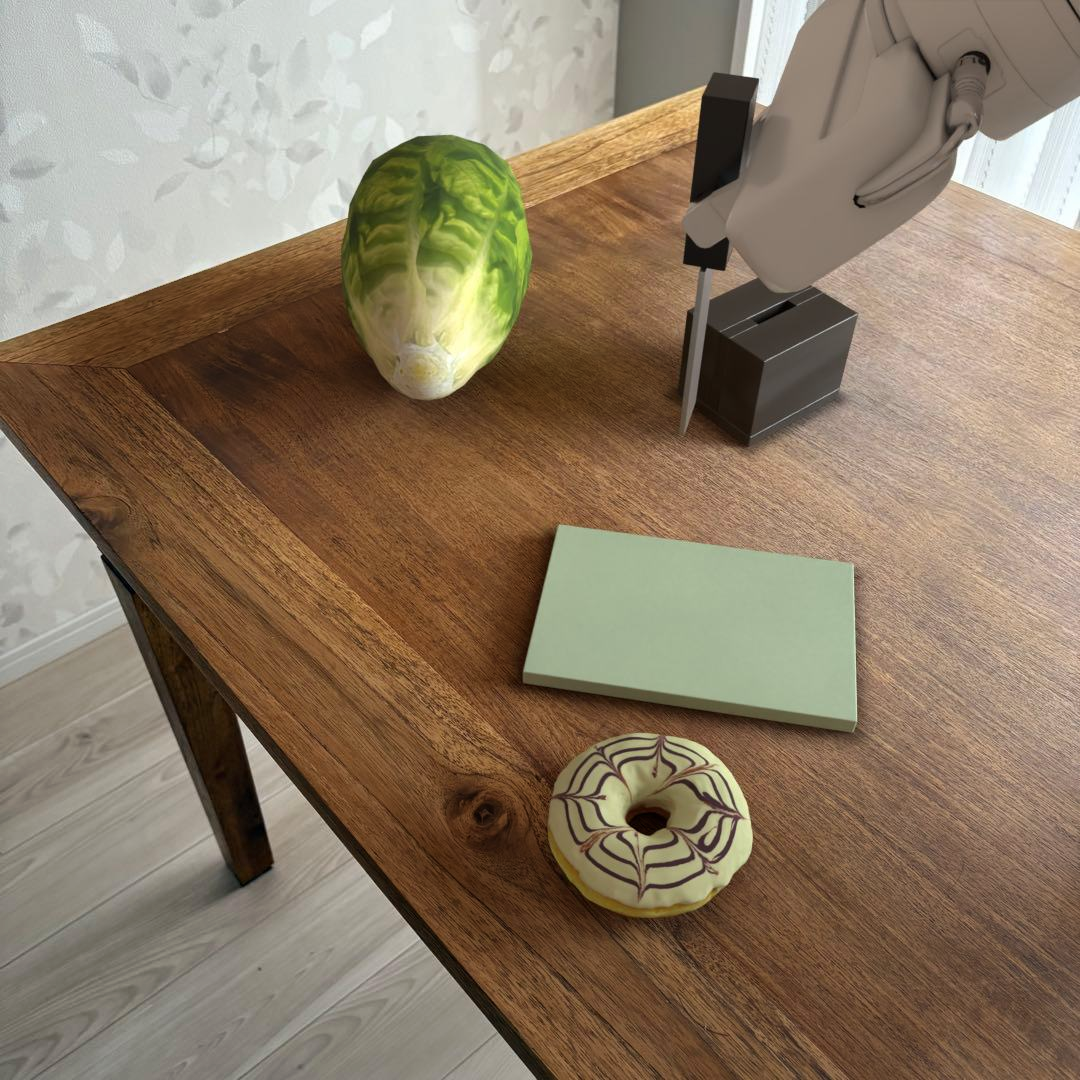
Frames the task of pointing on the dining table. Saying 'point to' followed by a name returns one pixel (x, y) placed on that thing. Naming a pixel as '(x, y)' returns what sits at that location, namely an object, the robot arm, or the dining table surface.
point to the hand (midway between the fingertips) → (701, 207)
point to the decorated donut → (669, 854)
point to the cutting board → (697, 627)
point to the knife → (719, 164)
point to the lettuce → (435, 262)
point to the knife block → (768, 357)
